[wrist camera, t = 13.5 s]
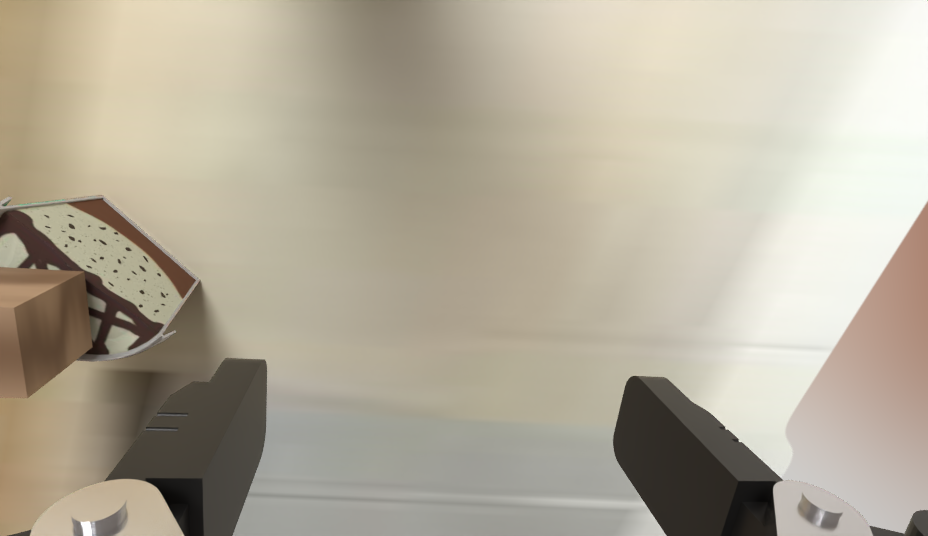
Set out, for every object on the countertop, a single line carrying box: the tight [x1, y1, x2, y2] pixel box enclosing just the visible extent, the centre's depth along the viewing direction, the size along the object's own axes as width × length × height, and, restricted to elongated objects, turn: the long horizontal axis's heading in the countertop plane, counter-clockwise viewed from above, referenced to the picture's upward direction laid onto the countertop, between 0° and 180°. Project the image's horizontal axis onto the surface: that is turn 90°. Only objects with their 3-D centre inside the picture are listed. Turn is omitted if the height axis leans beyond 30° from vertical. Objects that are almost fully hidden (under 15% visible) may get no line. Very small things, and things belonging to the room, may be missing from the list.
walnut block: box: [0, 267, 93, 398], centre depth 27 cm, size 5×5×6 cm
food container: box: [0, 195, 200, 361], centre depth 35 cm, size 12×6×10 cm, turn 40°
